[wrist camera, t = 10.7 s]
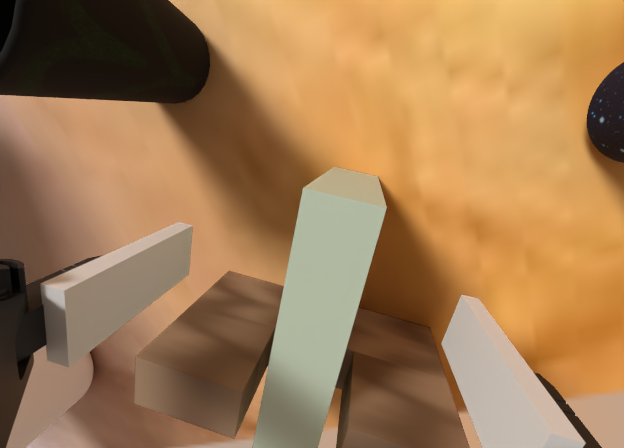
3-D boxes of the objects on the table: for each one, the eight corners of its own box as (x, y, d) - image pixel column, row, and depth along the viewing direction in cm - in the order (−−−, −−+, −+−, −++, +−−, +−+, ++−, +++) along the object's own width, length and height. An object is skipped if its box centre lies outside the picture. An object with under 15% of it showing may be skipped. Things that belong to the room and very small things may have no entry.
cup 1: (103, 403, 31) (-15, 519, 21) (23, 378, 32) (-122, 476, 23) (98, 323, 28) (-41, 416, 18) (10, 298, 29) (-162, 373, 20)
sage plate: (326, 366, 24) (299, 508, 15) (292, 355, 25) (244, 488, 15) (377, 176, 20) (386, 207, 10) (334, 166, 20) (303, 188, 10)
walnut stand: (224, 302, 24) (134, 403, 15) (229, 270, 24) (135, 356, 14) (417, 359, 23) (452, 516, 13) (429, 327, 22) (477, 470, 12)
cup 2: (237, 105, 20) (64, 57, 9) (143, 129, 22) (-102, 115, 10) (205, -24, 18) (-62, -297, 7) (107, 13, 20) (-237, -156, 9)
